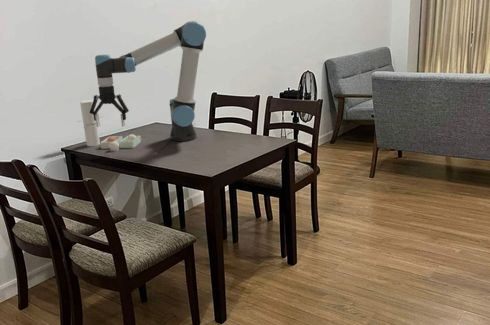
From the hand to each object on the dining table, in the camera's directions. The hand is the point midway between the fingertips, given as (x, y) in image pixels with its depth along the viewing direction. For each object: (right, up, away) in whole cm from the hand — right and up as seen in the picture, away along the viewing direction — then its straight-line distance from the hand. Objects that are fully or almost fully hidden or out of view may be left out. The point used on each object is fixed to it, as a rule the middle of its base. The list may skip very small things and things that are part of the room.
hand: (111, 126), depth 256 cm
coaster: (+1, -13, +4) cm, 14 cm away
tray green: (+7, -10, +13) cm, 18 cm away
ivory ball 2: (+8, -8, +16) cm, 20 cm away
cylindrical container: (-15, -10, +18) cm, 25 cm away
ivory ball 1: (+1, -13, +4) cm, 13 cm away
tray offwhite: (-3, -10, +14) cm, 18 cm away
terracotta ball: (-3, -9, +14) cm, 17 cm away
